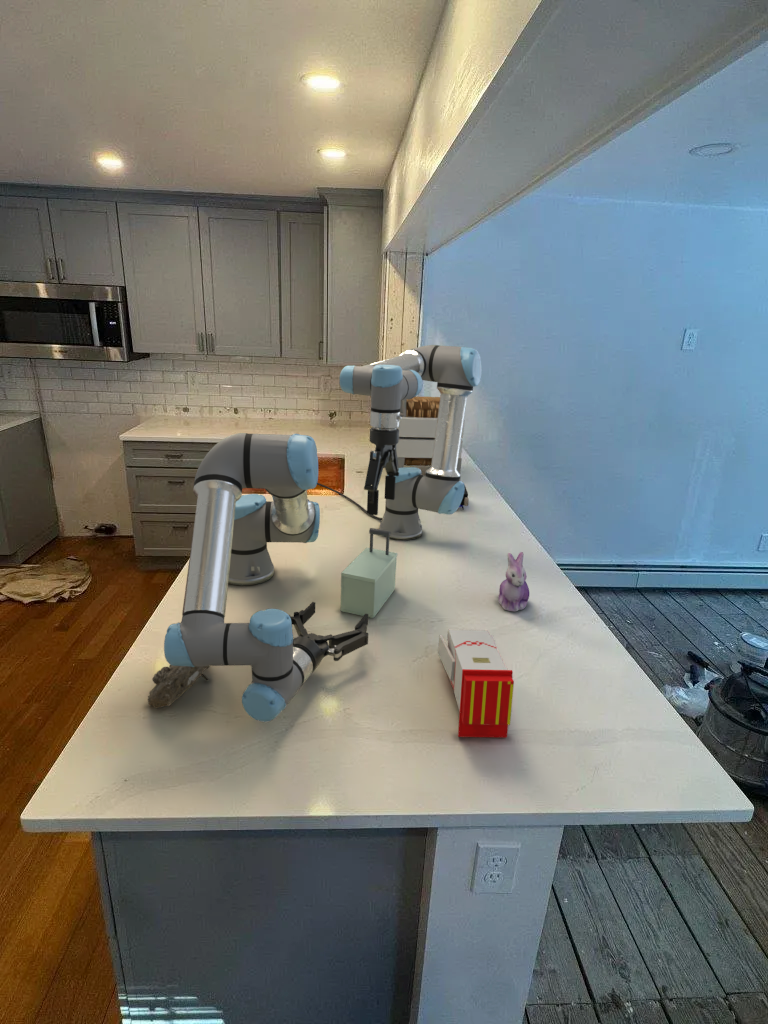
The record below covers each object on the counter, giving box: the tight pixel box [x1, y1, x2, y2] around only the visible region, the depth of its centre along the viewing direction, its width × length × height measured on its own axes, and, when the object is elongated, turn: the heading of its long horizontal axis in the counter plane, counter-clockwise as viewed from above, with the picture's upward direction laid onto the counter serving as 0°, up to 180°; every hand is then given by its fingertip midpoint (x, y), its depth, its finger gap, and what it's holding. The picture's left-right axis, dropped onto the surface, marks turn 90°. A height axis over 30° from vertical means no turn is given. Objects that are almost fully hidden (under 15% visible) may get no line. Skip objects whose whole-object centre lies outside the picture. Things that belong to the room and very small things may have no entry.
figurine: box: [497, 551, 530, 612], centre depth 152 cm, size 9×10×15 cm
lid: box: [340, 527, 398, 583], centre depth 149 cm, size 18×9×8 cm, turn 161°
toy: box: [437, 628, 515, 738], centre depth 117 cm, size 12×13×30 cm
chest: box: [340, 556, 398, 619], centre depth 152 cm, size 17×9×10 cm, turn 161°
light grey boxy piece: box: [396, 395, 465, 475], centre depth 268 cm, size 34×33×41 cm
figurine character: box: [459, 486, 470, 511], centre depth 230 cm, size 7×8×15 cm
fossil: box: [147, 664, 210, 709], centre depth 117 cm, size 22×10×15 cm
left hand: (340, 612), depth 134 cm, fingers open, 13 cm apart
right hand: (381, 506), depth 152 cm, fingers open, 13 cm apart
